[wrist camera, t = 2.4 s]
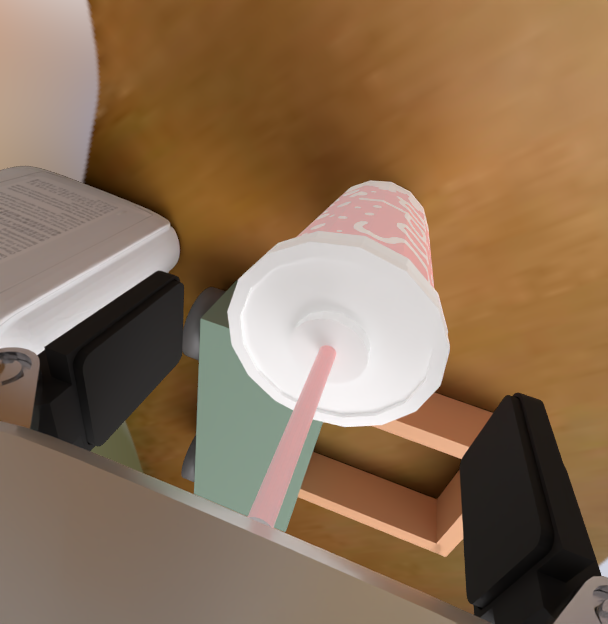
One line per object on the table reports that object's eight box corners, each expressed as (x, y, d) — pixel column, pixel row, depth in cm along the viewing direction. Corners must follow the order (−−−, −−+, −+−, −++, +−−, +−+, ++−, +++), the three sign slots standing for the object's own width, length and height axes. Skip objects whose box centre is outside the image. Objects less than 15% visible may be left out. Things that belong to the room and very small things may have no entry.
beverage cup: (469, 259, 17) (520, 635, 6) (351, 306, 20) (237, 613, 9) (407, 131, 15) (308, 327, 4) (287, 204, 18) (39, 433, 7)
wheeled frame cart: (220, 274, 22) (181, 311, 18) (549, 384, 19) (570, 448, 16) (208, 444, 31) (181, 488, 28) (429, 532, 28) (427, 592, 25)
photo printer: (32, 223, 24) (-262, 338, 14) (18, 152, 21) (-352, 232, 11) (181, 282, 23) (-21, 451, 13) (185, 215, 20) (-62, 362, 10)
